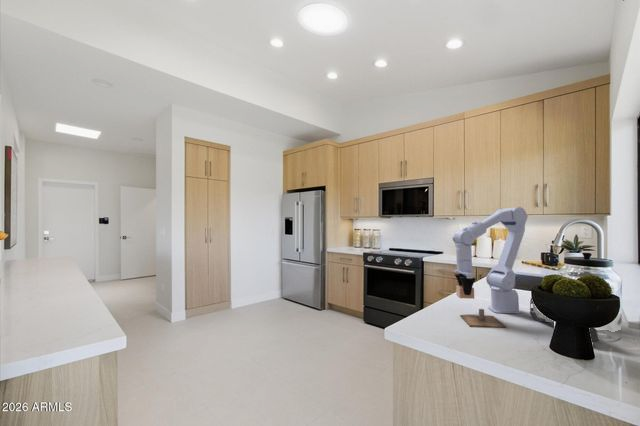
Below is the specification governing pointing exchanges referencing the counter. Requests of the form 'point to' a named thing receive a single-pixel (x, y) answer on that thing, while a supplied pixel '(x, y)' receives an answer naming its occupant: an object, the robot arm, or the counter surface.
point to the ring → (461, 293)
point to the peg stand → (482, 320)
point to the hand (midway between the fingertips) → (465, 293)
